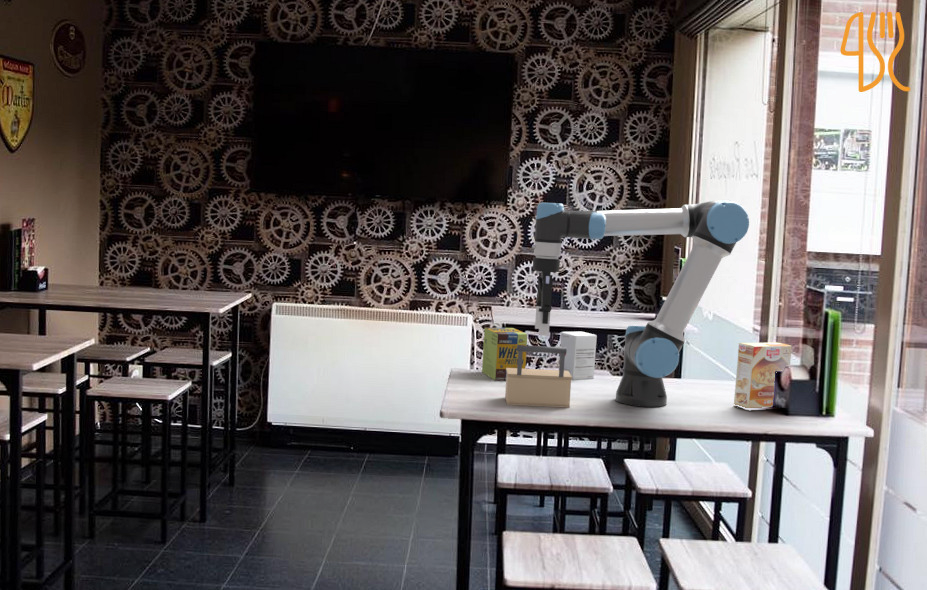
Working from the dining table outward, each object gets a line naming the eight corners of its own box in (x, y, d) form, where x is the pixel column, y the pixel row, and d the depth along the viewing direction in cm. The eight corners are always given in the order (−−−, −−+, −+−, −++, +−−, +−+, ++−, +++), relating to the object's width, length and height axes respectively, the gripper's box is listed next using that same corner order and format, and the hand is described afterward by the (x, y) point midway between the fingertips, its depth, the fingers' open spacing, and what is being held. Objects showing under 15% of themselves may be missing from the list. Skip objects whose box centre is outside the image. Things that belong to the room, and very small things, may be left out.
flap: (567, 373, 291) (569, 342, 290) (572, 380, 279) (574, 348, 279) (506, 370, 291) (507, 339, 290) (507, 377, 279) (509, 345, 278)
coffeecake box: (748, 411, 289) (754, 346, 287) (732, 406, 295) (737, 342, 293) (787, 409, 295) (792, 345, 293) (770, 404, 302) (775, 341, 300)
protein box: (494, 381, 318) (497, 333, 316) (481, 372, 332) (483, 326, 331) (525, 381, 320) (528, 333, 319) (510, 372, 335) (513, 327, 334)
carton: (565, 400, 292) (567, 373, 291) (569, 407, 282) (571, 379, 281) (505, 397, 291) (506, 370, 291) (506, 404, 282) (508, 376, 281)
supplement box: (557, 375, 334) (560, 331, 333) (579, 373, 339) (581, 330, 337) (572, 379, 326) (575, 335, 325) (594, 378, 331) (597, 334, 329)
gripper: (530, 254, 289) (525, 325, 291) (537, 259, 264) (531, 337, 266) (555, 255, 289) (550, 326, 291) (564, 261, 264) (559, 338, 267)
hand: (541, 332), depth 279 cm, fingers open, 13 cm apart
